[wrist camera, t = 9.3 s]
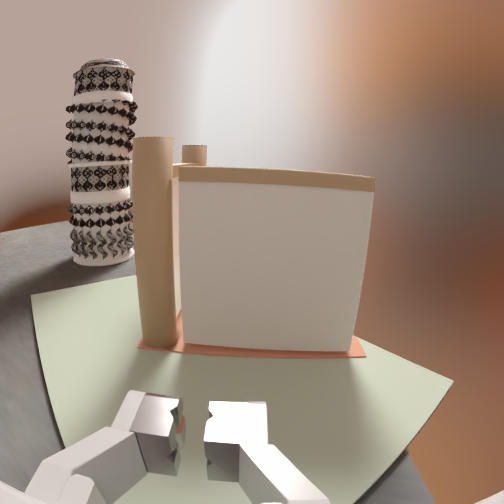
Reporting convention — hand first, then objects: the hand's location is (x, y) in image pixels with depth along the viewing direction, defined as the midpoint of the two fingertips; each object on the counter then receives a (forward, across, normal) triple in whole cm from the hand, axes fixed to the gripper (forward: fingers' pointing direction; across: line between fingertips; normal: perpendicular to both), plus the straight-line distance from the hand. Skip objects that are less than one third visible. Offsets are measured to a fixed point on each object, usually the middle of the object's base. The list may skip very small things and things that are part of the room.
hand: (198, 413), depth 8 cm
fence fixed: (+18, +5, +5) cm, 20 cm away
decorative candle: (+31, +18, +6) cm, 36 cm away
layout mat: (+12, +2, +6) cm, 13 cm away
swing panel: (+11, -3, +5) cm, 13 cm away
